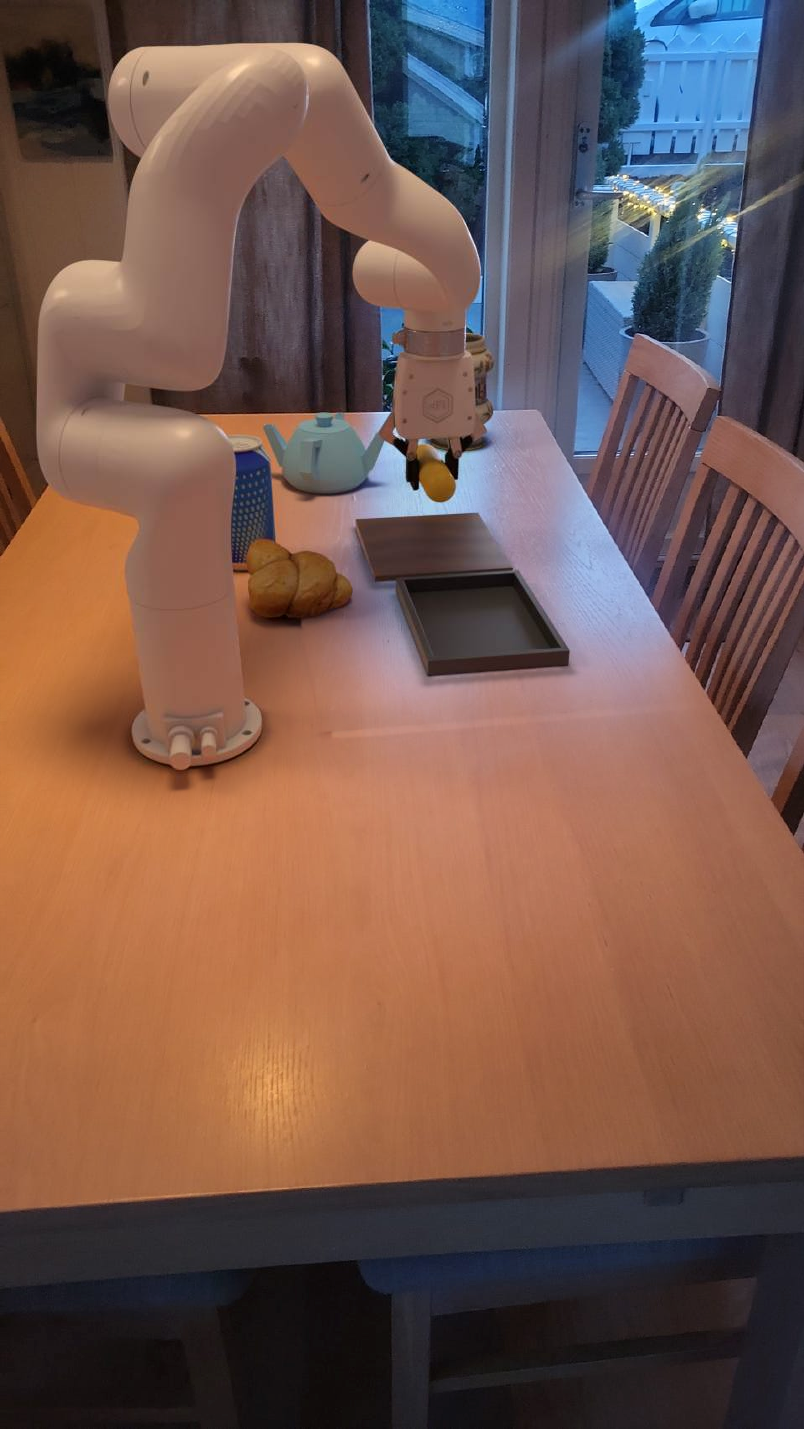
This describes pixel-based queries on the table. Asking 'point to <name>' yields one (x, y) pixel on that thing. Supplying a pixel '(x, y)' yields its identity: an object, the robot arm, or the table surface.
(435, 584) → the tray
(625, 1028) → the table surface
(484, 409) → the apothecary jar
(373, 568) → the board
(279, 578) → the bread roll
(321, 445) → the teapot
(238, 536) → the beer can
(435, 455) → the yellow capsule pill
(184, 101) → the robot arm
